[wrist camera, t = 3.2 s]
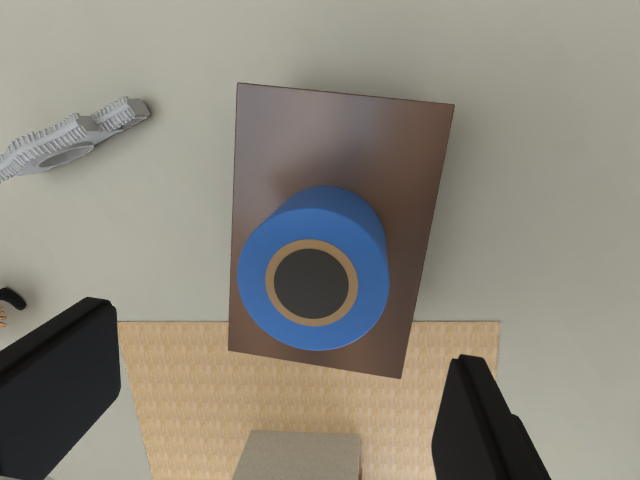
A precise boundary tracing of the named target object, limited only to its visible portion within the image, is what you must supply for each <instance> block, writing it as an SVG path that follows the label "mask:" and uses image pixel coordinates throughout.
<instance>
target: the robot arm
mask: <svg viewBox="0 0 640 480" xmlns="http://www.w3.org/2000/svg"><path fill="white" fill-rule="evenodd" d="M120 388H121V380H120V363H119V346H118V329H117V312H116V308H115V307H114V306H112V304H111V302H110V301H109V300H105V299H98V298H92V297H86V298H84V299H82V300H81V301H79V302H78V303H76V304H74V305H73V306H71V307H70V308H68V309H66V310H65V311H63V312H62V313H60V314H59V315H57V316H55V317H54V318H52V319H51V320H49V321H47V322H46V323H44V324H43V325H41V326H39V327H38V328H36V329H35V330H33V331H32V332H30V333H28V334H27V335H25V336H24V337H22V338H20V339H19V340H17V341H16V342H14V343H12V344H11V345H9V346H8V347H6V348H5V349H3V350H1V351H0V480H44V479H45V477H46V476H47V475H48V474H49V473H50V472H51V471H52V470H53V469H54V468H55V466H56V465H57V464H58V463H59V462H60V461H61V460H62V459H63V458H64V456H65V455H66V454H67V453H68V452H69V451H70V450H71V449H72V448H73V446H74V445H75V444H76V443H77V442H78V441H79V440H80V439H81V438H82V436H83V435H84V434H85V433H86V432H87V431H88V430H89V429H90V428H91V426H92V425H93V424H94V423H95V422H96V421H97V420H98V419H99V418H100V416H101V415H102V414H103V413H104V412H105V411H106V410H107V409H108V408H109V406H110V405H111V404H112V403H113V402H114V401H115V400H116V398H117V397H118V395H119V392H120ZM431 453H432V459H433V464H434V469H435V474H436V480H551V478H550V476H549V474H548V472H547V470H546V468H545V466H544V464H543V462H542V460H541V459H540V457H539V455H538V453H537V451H536V449H535V447H534V445H533V443H532V441H531V439H530V437H529V435H528V433H527V431H526V429H525V427H524V425H523V423H522V421H521V420H520V419H519V417H518V416H516V415H514V414H511V412H510V410H509V408H508V406H507V404H506V402H505V400H504V398H503V396H502V394H501V391H500V389H499V387H498V385H497V383H496V381H495V379H494V377H493V375H492V373H491V371H490V369H489V367H488V365H487V363H486V361H485V359H484V358H483V357H478V356H471V355H465V354H460V355H459V357H458V359H454V358H452V359H451V361H450V365H449V369H448V373H447V378H446V382H445V386H444V390H443V394H442V399H441V403H440V407H439V411H438V415H437V420H436V424H435V428H434V432H433V437H432V443H431Z"/></svg>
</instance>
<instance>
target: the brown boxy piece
mask: <svg viewBox="0 0 640 480" xmlns="http://www.w3.org/2000/svg"><path fill="white" fill-rule="evenodd" d="M454 107H455V105H454V104H445V103H435V102H425V101H415V100H406V99H396V98H386V97H376V96H366V95H357V94H347V93H337V92H327V91H317V90H308V89H298V88H288V87H278V86H269V85H259V84H249V83H239V82H238V83H237V98H236V126H235V155H234V183H233V212H232V241H231V269H230V298H229V326H228V351H233V352H239V353H245V354H251V355H257V356H263V357H269V358H275V359H281V360H287V361H293V362H299V363H305V364H311V365H316V366H322V367H328V368H334V369H340V370H346V371H352V372H358V373H364V374H370V375H376V376H382V377H388V378H394V379H401V377H402V372H403V367H404V362H405V357H406V352H407V347H408V341H409V336H410V331H411V326H412V321H413V316H414V311H415V306H416V301H417V296H418V290H419V285H420V280H421V275H422V270H423V265H424V260H425V255H426V250H427V245H428V239H429V234H430V229H431V224H432V219H433V214H434V209H435V204H436V199H437V194H438V188H439V183H440V178H441V173H442V168H443V163H444V158H445V153H446V148H447V143H448V137H449V132H450V127H451V122H452V117H453V112H454ZM316 186H333V187H338V188H342V189H345V190H348V191H350V192H352V193H354V194H356V195H358V196H359V197H361V198H362V199H363V200H365V201H366V202H367V203H368V204H369V205H370V206H371V207H372V208H373V210H374V211H375V212H376V214H377V215H378V217H379V219H380V221H381V223H382V226H383V229H384V234H385V240H386V250H387V260H388V269H389V284H390V285H389V295H388V299H387V303H386V306H385V308H384V310H383V313H382V314H381V316H380V318H379V319H378V321H377V322H376V323H375V325H374V326H373V327H372V328H371V329H370V330H369V331H368V332H367V333H366V334H364V335H363V336H362V337H360V338H359V339H357V340H356V341H354V342H352V343H350V344H348V345H345V346H342V347H339V348H335V349H330V350H305V349H300V348H296V347H293V346H290V345H287V344H284V343H282V342H280V341H278V340H276V339H275V338H273V337H272V336H270V335H269V334H268V333H266V332H265V331H264V330H262V329H261V328H260V327H259V326H258V325H257V324H256V322H255V321H254V320H253V319H252V317H251V316H250V315H249V313H248V311H247V310H246V308H245V306H244V304H243V301H242V299H241V296H240V292H239V288H238V282H237V269H238V261H239V257H240V254H241V251H242V249H243V246H244V244H245V243H246V241H247V239H248V238H249V236H250V235H251V234H252V233H253V231H254V230H255V229H256V228H257V227H258V226H259V225H261V224H262V223H263V222H264V221H265V220H266V219H267V218H268V217H269V216H270V215H271V214H272V213H273V212H274V211H275V210H277V209H278V208H279V207H280V206H281V205H282V204H283V203H284V202H285V201H286V200H287V199H288V198H290V197H291V196H293V195H294V194H296V193H298V192H300V191H302V190H305V189H308V188H312V187H316Z"/></svg>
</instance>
